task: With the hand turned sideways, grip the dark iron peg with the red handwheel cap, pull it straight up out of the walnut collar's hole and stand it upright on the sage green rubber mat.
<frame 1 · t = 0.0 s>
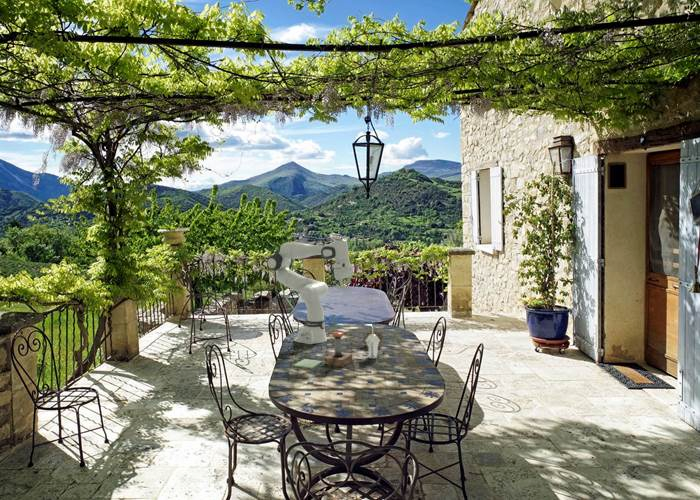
hand: (345, 285, 339), 39 cm above the table, tool pointing down, fingers open, 8 cm apart
collar: (338, 362, 304), on the table
pine cone: (366, 346, 336), on the table
peg: (338, 348, 303), in the collar
drinking straw: (372, 357, 313), on the table
mat: (308, 364, 302), on the table
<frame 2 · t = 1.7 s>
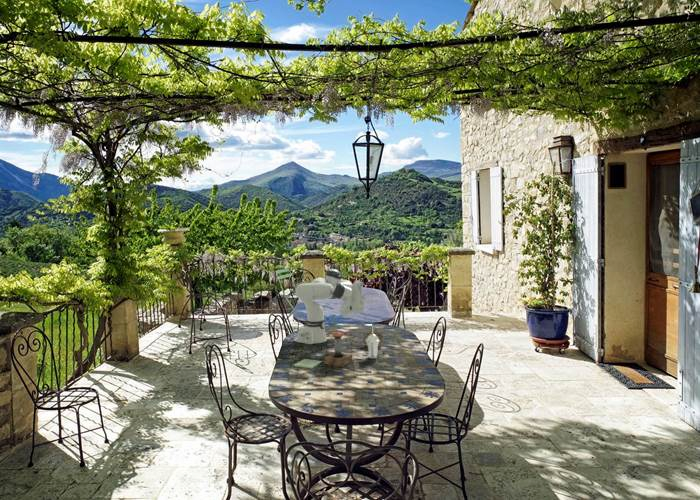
hand: (363, 289, 322), 38 cm above the table, tool pointing upward, fingers open, 8 cm apart
nothing on the table moved.
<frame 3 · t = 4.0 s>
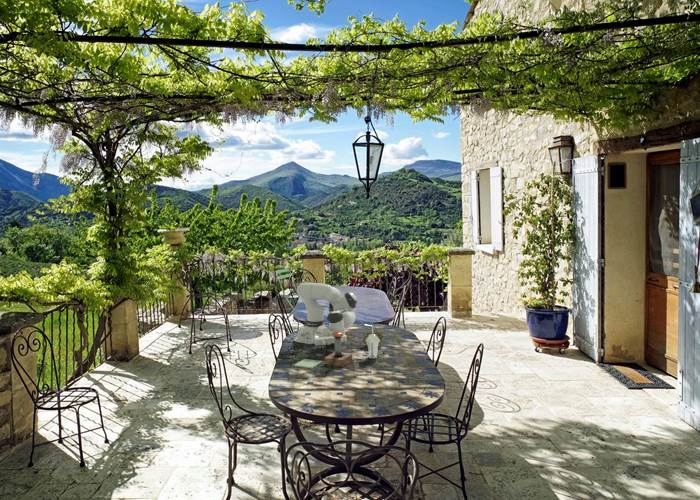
hand: (333, 342, 314), 9 cm above the table, tool horizontal, fingers open, 8 cm apart
nothing on the table moved.
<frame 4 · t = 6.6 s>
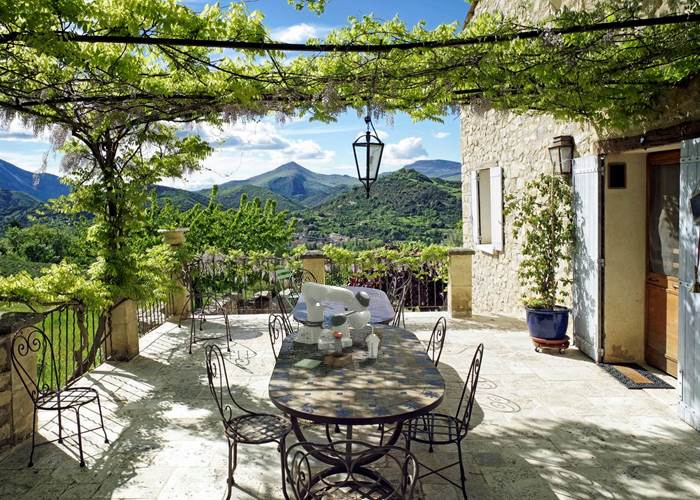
hand: (338, 347, 302), 10 cm above the table, tool horizontal, fingers closed on peg, 4 cm apart
peg: (338, 348, 303), in the collar, touching gripper
everything else where it was.
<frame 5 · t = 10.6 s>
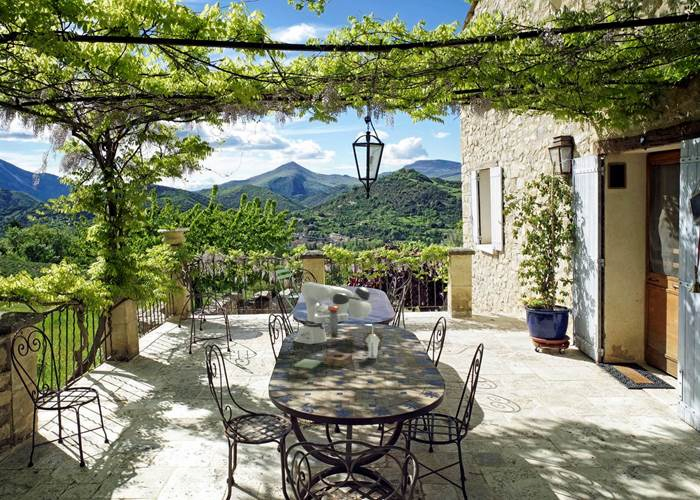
hand: (334, 320, 300), 25 cm above the table, tool horizontal, fingers closed on peg, 4 cm apart
peg: (333, 322, 301), point 24 cm above the table, touching gripper
everything else where it was.
when the fingers open (11 cm above the table, at t = 14.7 s): peg drops 1 cm, resting on mat.
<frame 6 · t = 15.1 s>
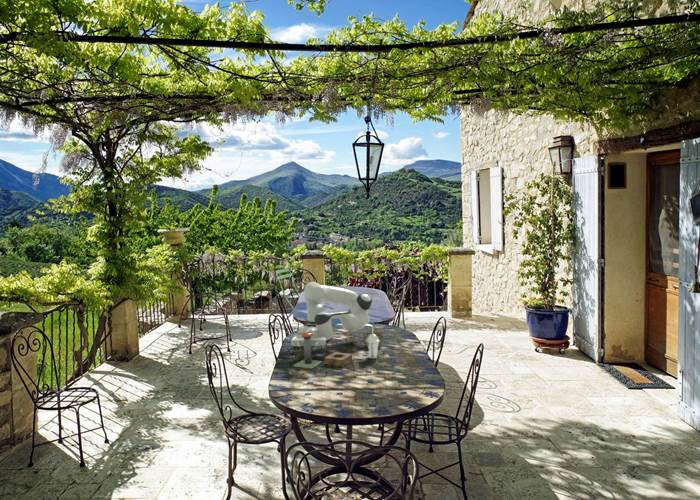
hand: (307, 345, 300), 11 cm above the table, tool horizontal, fingers open, 8 cm apart
peg: (307, 348, 301), on the mat, point 10 cm above the table
everything else where it was.
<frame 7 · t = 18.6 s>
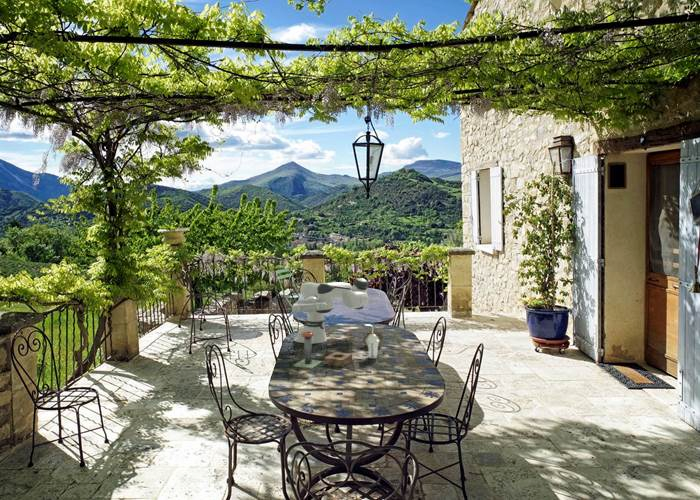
hand: (308, 308, 309), 31 cm above the table, tool horizontal, fingers open, 8 cm apart
nothing on the table moved.
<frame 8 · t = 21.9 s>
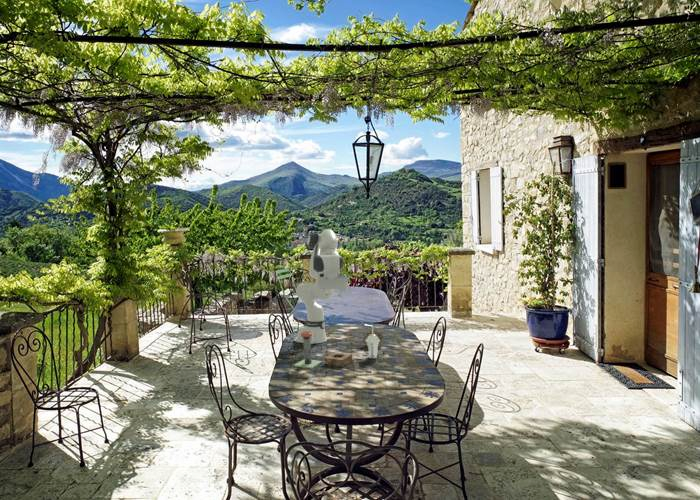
hand: (333, 296, 326), 34 cm above the table, tool pointing down, fingers open, 8 cm apart
nothing on the table moved.
at the end: peg inside the target area on the mat (0.1 cm from its centre), point 9.5 cm above the mat's base; peg tilted 1°; the gripper is holding nothing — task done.
